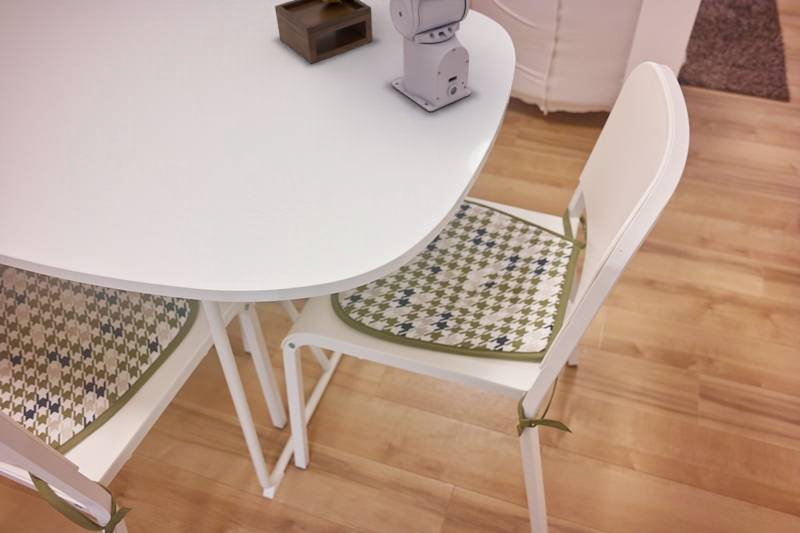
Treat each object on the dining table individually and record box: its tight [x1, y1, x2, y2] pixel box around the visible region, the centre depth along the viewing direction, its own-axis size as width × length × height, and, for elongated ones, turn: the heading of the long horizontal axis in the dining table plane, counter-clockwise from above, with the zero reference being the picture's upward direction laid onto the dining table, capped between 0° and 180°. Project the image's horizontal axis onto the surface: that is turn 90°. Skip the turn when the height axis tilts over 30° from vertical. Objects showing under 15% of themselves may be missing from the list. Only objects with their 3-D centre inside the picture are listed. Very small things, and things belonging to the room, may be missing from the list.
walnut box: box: [274, 0, 374, 65], centre depth 100 cm, size 10×12×6 cm
